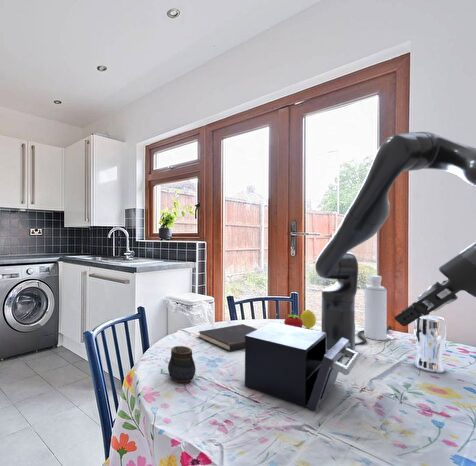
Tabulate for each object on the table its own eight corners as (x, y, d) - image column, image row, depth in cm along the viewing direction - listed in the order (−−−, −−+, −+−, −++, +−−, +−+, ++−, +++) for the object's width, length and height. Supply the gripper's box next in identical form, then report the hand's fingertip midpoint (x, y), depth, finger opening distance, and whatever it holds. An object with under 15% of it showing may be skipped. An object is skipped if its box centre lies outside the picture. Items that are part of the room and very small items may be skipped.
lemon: (318, 331, 127) (318, 311, 127) (303, 330, 128) (303, 310, 128) (312, 327, 133) (312, 308, 133) (298, 326, 134) (298, 307, 134)
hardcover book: (198, 337, 118) (198, 331, 118) (242, 329, 129) (242, 324, 129) (230, 351, 104) (230, 345, 104) (277, 341, 114) (277, 335, 114)
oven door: (348, 391, 80) (364, 346, 78) (331, 421, 67) (349, 368, 65) (327, 380, 83) (342, 337, 81) (306, 407, 70) (323, 355, 68)
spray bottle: (368, 339, 118) (369, 272, 118) (361, 333, 124) (361, 270, 124) (390, 341, 116) (390, 273, 116) (381, 335, 122) (381, 271, 122)
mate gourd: (197, 375, 86) (197, 339, 86) (193, 388, 79) (193, 348, 79) (170, 371, 89) (171, 336, 89) (165, 383, 82) (165, 345, 82)
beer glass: (406, 363, 96) (406, 314, 96) (427, 363, 96) (427, 313, 96) (430, 373, 89) (430, 320, 89) (453, 373, 89) (453, 320, 89)
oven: (326, 381, 83) (326, 332, 83) (305, 408, 71) (305, 350, 71) (271, 365, 93) (271, 321, 93) (244, 386, 80) (245, 335, 81)
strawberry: (306, 337, 120) (306, 311, 120) (295, 340, 115) (295, 313, 116) (291, 333, 125) (291, 307, 125) (280, 336, 120) (280, 310, 120)
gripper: (462, 251, 64) (391, 300, 73) (459, 252, 55) (378, 308, 63) (503, 279, 60) (424, 328, 68) (508, 285, 51) (415, 341, 59)
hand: (402, 319), depth 66 cm, fingers open, 8 cm apart
